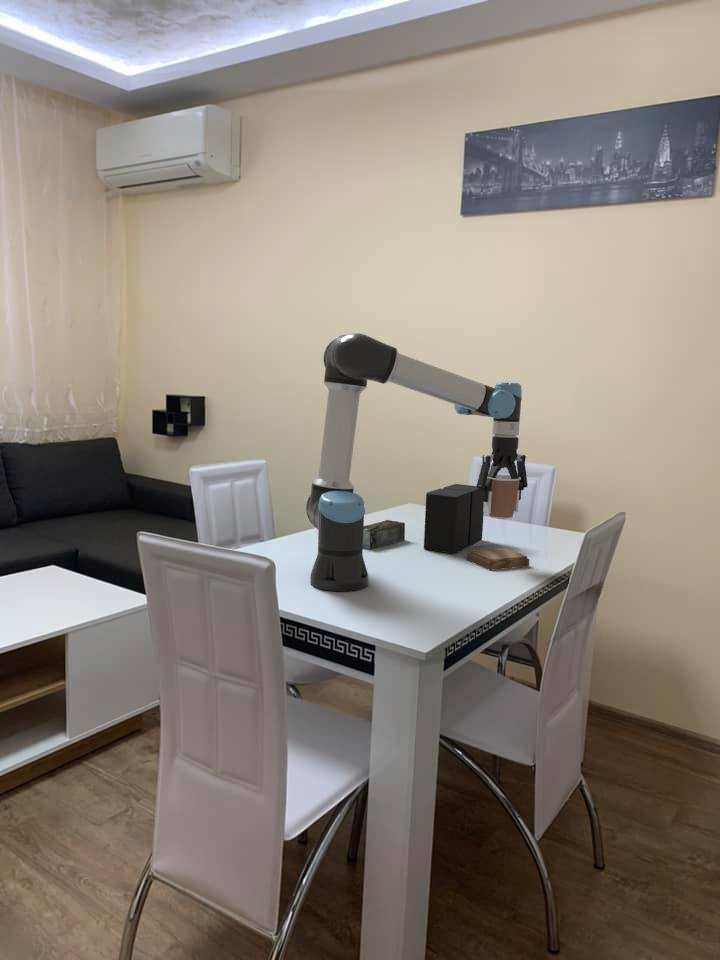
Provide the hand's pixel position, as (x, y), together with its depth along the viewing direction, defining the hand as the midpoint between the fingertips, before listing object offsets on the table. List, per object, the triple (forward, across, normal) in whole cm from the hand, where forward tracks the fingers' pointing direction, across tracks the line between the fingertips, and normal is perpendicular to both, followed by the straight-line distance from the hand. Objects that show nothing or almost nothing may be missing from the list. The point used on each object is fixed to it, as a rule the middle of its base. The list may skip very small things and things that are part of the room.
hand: (500, 511), depth 206 cm
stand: (+16, 0, 0) cm, 16 cm away
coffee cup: (+2, 0, 0) cm, 2 cm away
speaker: (+16, -1, +24) cm, 29 cm away
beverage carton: (+16, -23, +33) cm, 44 cm away
